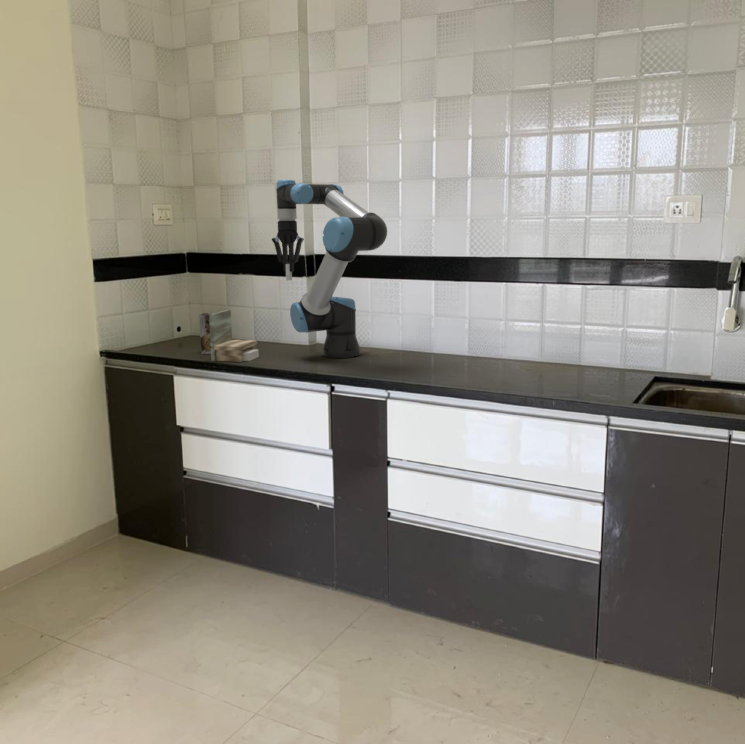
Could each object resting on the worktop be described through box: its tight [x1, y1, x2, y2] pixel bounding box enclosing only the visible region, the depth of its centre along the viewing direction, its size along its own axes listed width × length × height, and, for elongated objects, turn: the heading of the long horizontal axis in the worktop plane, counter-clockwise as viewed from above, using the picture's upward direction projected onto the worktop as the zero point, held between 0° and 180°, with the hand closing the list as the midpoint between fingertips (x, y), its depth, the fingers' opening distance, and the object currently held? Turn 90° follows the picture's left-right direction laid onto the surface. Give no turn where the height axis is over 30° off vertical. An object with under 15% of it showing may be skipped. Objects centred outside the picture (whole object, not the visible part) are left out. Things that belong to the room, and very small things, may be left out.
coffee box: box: [198, 312, 214, 355], centre depth 301 cm, size 9×6×16 cm
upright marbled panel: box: [209, 309, 258, 363], centre depth 288 cm, size 12×16×18 cm
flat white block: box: [242, 348, 260, 362], centre depth 289 cm, size 11×9×3 cm
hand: (289, 280), depth 296 cm, fingers closed
